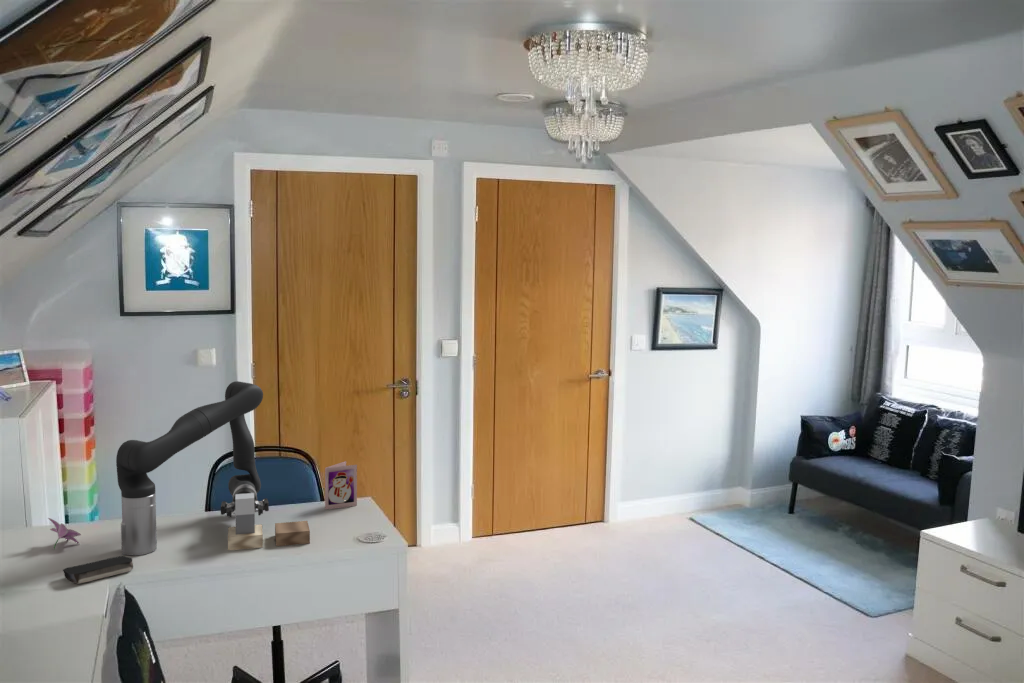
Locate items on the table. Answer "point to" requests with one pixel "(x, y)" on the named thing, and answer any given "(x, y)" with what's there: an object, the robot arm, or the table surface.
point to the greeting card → (340, 486)
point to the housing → (245, 513)
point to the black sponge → (98, 569)
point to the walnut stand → (292, 533)
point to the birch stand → (245, 539)
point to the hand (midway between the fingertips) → (245, 513)
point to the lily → (64, 532)
